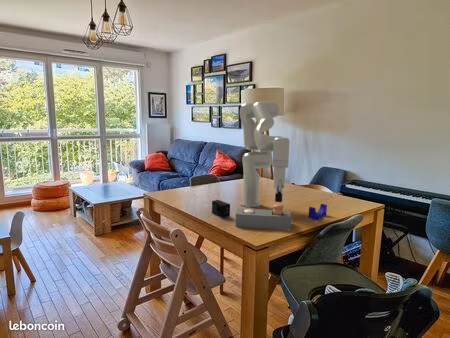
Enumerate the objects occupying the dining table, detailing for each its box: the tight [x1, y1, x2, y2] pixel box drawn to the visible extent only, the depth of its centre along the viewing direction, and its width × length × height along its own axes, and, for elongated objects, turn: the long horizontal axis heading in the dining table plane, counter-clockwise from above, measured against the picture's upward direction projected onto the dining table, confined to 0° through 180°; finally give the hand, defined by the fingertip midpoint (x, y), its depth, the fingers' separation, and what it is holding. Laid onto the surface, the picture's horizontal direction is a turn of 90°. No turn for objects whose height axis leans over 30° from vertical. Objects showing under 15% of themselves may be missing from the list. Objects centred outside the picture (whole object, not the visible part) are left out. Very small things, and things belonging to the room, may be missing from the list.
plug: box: [244, 208, 254, 214], centre depth 149 cm, size 5×5×6 cm
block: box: [234, 207, 292, 231], centre depth 148 cm, size 10×26×6 cm, turn 83°
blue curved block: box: [307, 203, 328, 221], centre depth 162 cm, size 12×4×6 cm, turn 129°
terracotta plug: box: [272, 203, 284, 215], centre depth 147 cm, size 5×5×6 cm
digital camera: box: [211, 199, 231, 219], centre depth 161 cm, size 10×5×7 cm, turn 38°
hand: (278, 201), depth 146 cm, fingers closed
